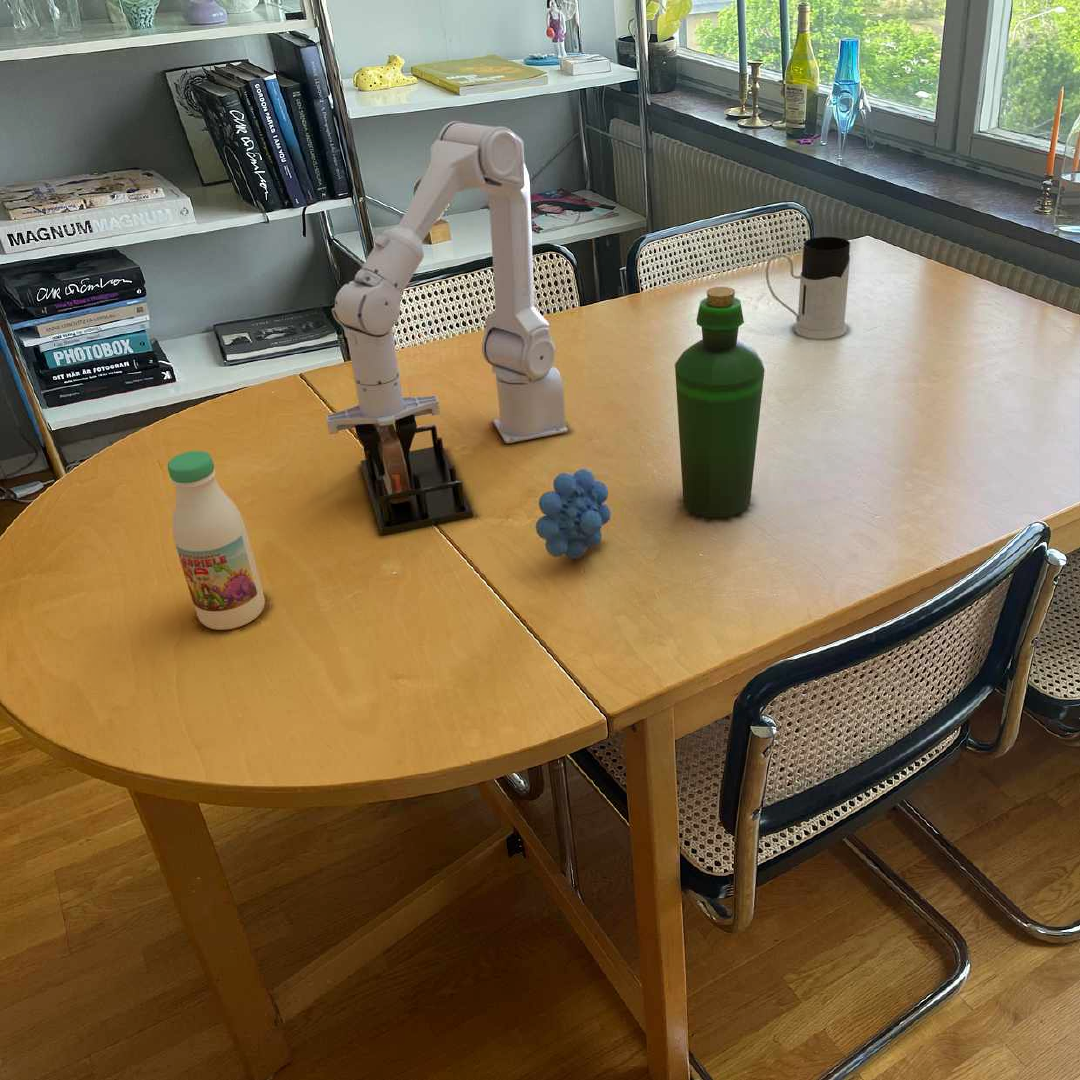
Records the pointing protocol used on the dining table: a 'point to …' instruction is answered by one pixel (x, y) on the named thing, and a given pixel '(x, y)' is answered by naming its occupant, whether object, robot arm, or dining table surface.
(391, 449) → the tin
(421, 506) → the rack
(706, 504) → the bottle
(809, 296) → the glass holder
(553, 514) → the grapes
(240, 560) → the milk bottle
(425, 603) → the dining table surface
